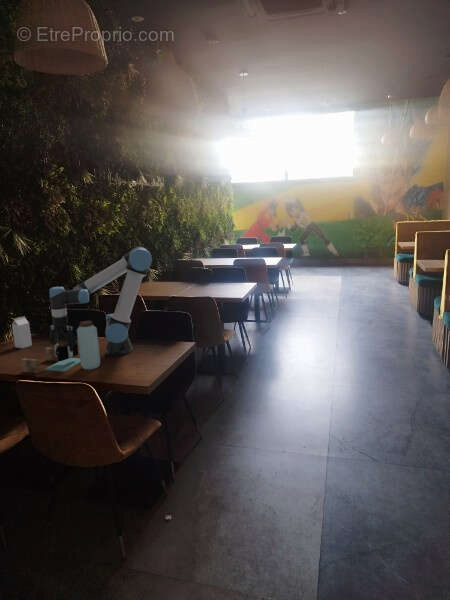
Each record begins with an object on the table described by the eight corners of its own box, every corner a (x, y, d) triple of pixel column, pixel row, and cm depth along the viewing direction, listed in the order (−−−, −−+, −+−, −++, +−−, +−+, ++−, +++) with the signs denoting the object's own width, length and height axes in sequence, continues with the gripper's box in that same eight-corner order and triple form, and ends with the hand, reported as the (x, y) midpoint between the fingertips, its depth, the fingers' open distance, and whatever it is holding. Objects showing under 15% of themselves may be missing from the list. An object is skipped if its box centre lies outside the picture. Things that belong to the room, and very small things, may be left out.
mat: (85, 359, 234) (84, 358, 234) (64, 371, 217) (64, 370, 217) (66, 358, 237) (66, 357, 237) (45, 370, 221) (45, 368, 220)
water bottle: (89, 371, 216) (84, 325, 211) (77, 368, 221) (71, 323, 216) (104, 365, 224) (99, 320, 219) (92, 362, 229) (87, 318, 224)
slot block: (61, 360, 235) (60, 348, 233) (37, 373, 216) (35, 360, 215) (48, 359, 237) (47, 347, 236) (23, 371, 219) (21, 359, 217)
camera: (71, 352, 235) (70, 338, 234) (80, 354, 232) (79, 340, 231) (50, 359, 223) (49, 345, 221) (60, 362, 220) (59, 347, 218)
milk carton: (32, 345, 264) (28, 316, 260) (21, 348, 258) (17, 319, 254) (25, 344, 268) (21, 315, 264) (15, 347, 262) (10, 318, 258)
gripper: (80, 314, 222) (84, 355, 227) (48, 313, 228) (53, 352, 233) (71, 318, 215) (76, 360, 220) (38, 316, 221) (43, 357, 226)
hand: (64, 356), depth 226 cm, fingers closed on camera, 8 cm apart
